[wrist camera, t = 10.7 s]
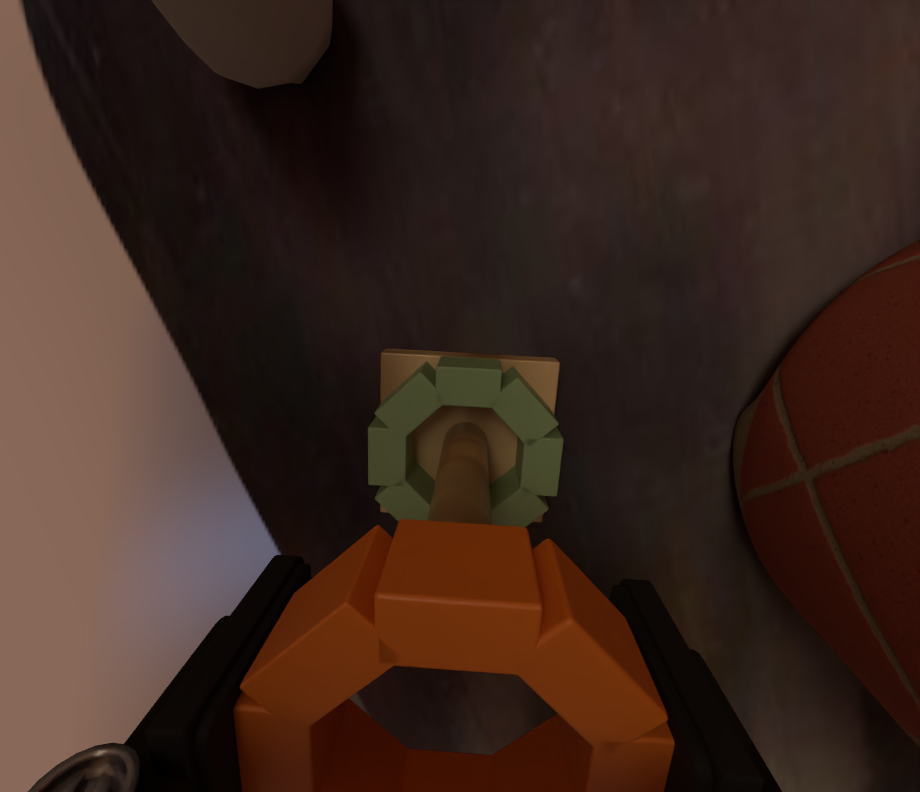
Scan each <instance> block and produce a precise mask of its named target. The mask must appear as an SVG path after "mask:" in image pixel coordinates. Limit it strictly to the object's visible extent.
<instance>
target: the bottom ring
mask: <svg viewBox="0 0 920 792" xmlns="http://www.w3.org/2000/svg"><path fill="white" fill-rule="evenodd" d="M442 405H445V406H463V407H480V408H492V409H493V410H494V411H495V412H496V413H497V415H498V416H499V417H500V418H501V419H502V420H503V421H504V422H505V423H506V424H507V425H508V427H509V428H510V429H511V430H512V431H513V432H514V433H515V434H516V435H517V436H518V438H517V449H516V460H515V466H513V467H512V468H511V469H510V470H508V471H507V472H506V473H505V474H503V475H502V476H501V477H500V478H498V479H497V480H496V481H495V482H493V483H492V484H491V485H489V486H490V501H491V517H492V525H502V526H517V527H526V526H528V525H529V524H530V523H532V522H533V521H534V520H536V519H537V518H538V517H540V516H541V515H542V514H544V513H545V512H546V511H548V509H549V508H548V505H547V502H546V499H545V496H557V492H558V484H559V476H560V467H561V459H562V451H563V442H564V439H563V437H562V436H561V434H560V432H559V430H558V428H557V426H558V425H559V423H558V421H557V419H556V418H555V416H554V414H553V412H552V411H551V409H550V407H549V406H548V405H547V404H546V402H545V401H544V400H543V399H542V398H541V397H540V396H539V395H538V393H537V392H536V391H535V390H534V389H533V388H532V387H531V386H530V384H529V383H528V382H527V381H526V380H525V379H524V378H523V376H522V375H521V374H520V373H519V372H518V371H517V370H516V369H515V367H514V366H512V367H511V368H509V369H508V370H507V371H506V372H505V373H503V374H502V369H501V365H500V361H499V359H487V358H469V357H451V356H441V358H440V360H439V362H438V364H437V367H436V370H435V369H434V368H433V367H432V366H431V365H430V364H429V363H428V361H426V362H425V363H424V364H423V365H421V366H420V367H419V368H418V369H417V370H416V371H415V372H414V373H413V374H411V375H410V376H409V377H408V378H407V379H406V380H405V381H404V382H403V383H401V384H400V385H399V386H398V387H397V388H396V389H395V390H394V391H393V392H392V393H390V394H389V395H388V396H387V397H386V398H385V400H384V401H383V402H382V404H381V405H380V406H379V408H378V409H377V410H376V411H375V415H376V418H375V419H374V420H373V422H372V423H371V424H370V426H369V427H368V484H369V485H380V488H379V490H378V492H377V494H376V496H375V499H376V500H377V501H378V502H379V503H380V504H381V505H382V506H383V507H384V508H385V509H386V510H387V511H388V512H389V513H390V514H391V515H392V516H393V517H394V518H395V519H396V520H397V521H398V522H399V520H401V519H413V520H428V516H429V511H430V506H431V501H432V496H433V491H434V486H435V480H434V479H433V478H432V477H431V476H430V475H429V474H428V473H427V472H426V471H425V470H424V469H423V468H422V467H421V466H420V465H419V464H418V463H417V462H416V461H415V460H414V459H413V453H414V430H415V429H416V428H417V427H418V426H419V425H420V424H421V423H423V422H424V421H425V420H426V419H427V418H428V417H429V416H431V415H432V414H433V413H434V412H435V411H436V410H438V409H439V408H440V407H441V406H442Z"/></svg>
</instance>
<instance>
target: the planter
mask: <svg viewBox="0 0 920 792" xmlns="http://www.w3.org/2000/svg"><path fill="white" fill-rule="evenodd" d="M733 469H734V478H735V485H736V490H737V496H738V500H739V504H740V508H741V512H742V515H743V519H744V522H745V525H746V528H747V531H748V534H749V536H750V539H751V541H752V544H753V546H754V548H755V550H756V552H757V554H758V556H759V558H760V560H761V562H762V564H763V565H764V567H765V568H766V570H767V572H768V573H769V575H770V577H771V578H772V580H773V581H774V582H775V583H776V585H777V586H778V587H779V589H780V590H781V591H782V593H783V594H784V595H785V596H786V598H787V599H788V600H789V601H790V603H791V604H792V605H793V606H794V607H795V608H796V609H797V610H798V611H799V613H800V614H801V615H802V616H803V617H804V618H805V619H806V620H807V621H808V623H809V624H810V625H811V626H812V627H813V628H814V629H815V630H816V632H817V633H818V634H819V635H820V636H821V637H822V638H823V639H824V640H825V642H826V643H827V644H828V645H829V646H830V647H831V648H832V649H833V650H834V652H835V653H836V654H837V655H838V656H839V657H840V658H841V659H842V661H843V662H844V663H845V664H846V665H847V666H848V667H849V668H850V670H851V671H852V672H853V673H854V674H855V675H856V676H857V678H858V679H859V680H860V681H861V682H862V683H863V684H864V686H865V687H866V688H867V689H868V690H869V691H870V692H871V694H872V695H873V696H874V697H875V698H876V699H877V700H878V701H879V703H880V704H881V705H882V706H883V707H884V708H885V709H886V711H887V712H888V713H889V714H890V715H891V716H892V717H893V719H894V720H895V721H896V722H897V723H898V724H899V725H900V727H901V728H902V729H903V730H904V731H905V732H906V733H907V734H908V736H909V737H910V738H911V739H912V740H913V741H914V742H915V744H916V745H917V746H918V747H919V748H920V240H918V241H917V242H915V243H913V244H911V245H909V246H907V247H905V248H903V249H902V250H900V251H898V252H897V253H895V254H893V255H892V256H890V257H889V258H887V259H885V260H884V261H882V262H881V263H879V264H878V265H877V266H875V267H874V268H872V269H871V270H869V271H868V272H866V273H865V274H864V275H863V276H861V277H860V278H859V279H857V280H856V281H855V282H854V283H852V284H851V285H850V286H849V287H847V288H846V289H845V290H844V291H843V292H842V293H841V294H840V295H838V296H837V297H836V298H835V299H834V300H833V301H832V302H831V303H830V304H829V305H828V306H827V307H826V308H825V309H824V310H823V311H822V312H821V313H820V314H819V315H818V316H817V317H816V318H815V319H814V320H813V321H812V322H811V324H810V325H809V326H808V327H807V328H806V329H805V331H804V332H803V333H802V334H801V335H800V336H799V338H798V339H797V341H796V342H795V343H794V345H793V346H792V347H791V349H790V350H789V351H788V353H787V354H786V356H785V357H784V359H783V360H782V362H781V363H780V364H779V366H778V367H777V369H776V370H775V372H774V374H773V375H772V377H771V378H770V380H769V381H768V383H767V385H766V386H765V388H764V389H763V390H762V392H761V393H760V395H759V396H758V397H757V398H756V399H755V400H754V401H753V402H752V403H751V404H750V405H749V406H748V407H747V408H746V409H745V410H744V411H743V412H742V413H741V415H740V417H739V418H738V421H737V424H736V427H735V433H734V442H733Z"/></svg>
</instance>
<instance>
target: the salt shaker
mask: <svg viewBox="0 0 920 792" xmlns="http://www.w3.org/2000/svg"><path fill="white" fill-rule="evenodd" d="M151 1H152V2H153V3H154V4H155V6H156V7H157V8H158V9H159V11H160V12H161V13H162V14H163V16H164V17H165V18H166V20H167V21H168V22H169V23H170V25H171V26H172V27H173V28H174V30H175V31H176V32H177V34H178V35H179V36H180V37H181V39H182V40H183V41H184V42H185V44H186V45H187V46H188V47H189V48H190V49H191V50H192V51H193V52H195V53H196V54H197V55H198V56H199V57H200V58H201V59H202V60H203V61H204V62H205V63H206V64H207V65H208V66H209V67H210V68H211V69H212V70H213V71H214V72H215V73H217V74H219V75H221V76H223V77H225V78H228V79H231V80H234V81H237V82H240V83H243V84H245V85H248V86H251V87H254V88H257V89H259V88H264V87H270V86H276V85H281V84H287V83H297V84H302V83H303V82H304V80H305V79H306V77H307V76H308V75H309V73H310V72H311V71H312V69H313V68H314V66H315V65H316V64H317V62H318V61H319V60H320V58H321V57H322V55H323V54H324V53H325V51H326V50H327V48H328V47H329V46H330V39H331V31H332V10H333V0H151Z"/></svg>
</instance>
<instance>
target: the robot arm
mask: <svg viewBox="0 0 920 792" xmlns="http://www.w3.org/2000/svg"><path fill="white" fill-rule="evenodd" d="M310 580H311V566H310V565H309V564H304V560H303V558H302V557H300V556H285V555H276V556H274V558H272V560H271V561H270V562H269V564H268V565H267V567H266V568H265V570H264V571H263V572H262V573H261V575H260V576H259V577H258V579H257V580H256V581H255V583H254V584H253V586H252V587H251V588H250V590H249V591H248V592H247V594H246V595H245V596H244V598H243V599H242V601H241V602H240V603H239V604H238V606H237V607H236V609H235V610H234V611H233V613H232V614H231V615H230V616H225V617H223V618H221V619H220V620H219V621H218V622H217V623H216V624H215V626H214V627H213V628H212V629H211V631H210V632H209V633H208V635H207V636H206V637H205V639H204V640H203V641H202V642H201V644H200V645H199V646H198V648H197V649H196V650H195V652H194V653H193V654H192V655H191V657H190V658H189V659H188V661H187V662H186V663H185V665H184V666H183V667H182V669H181V670H180V671H179V672H178V674H177V675H176V676H175V678H174V679H173V680H172V682H171V683H170V685H169V686H168V687H167V688H166V690H165V691H164V692H163V694H162V695H161V696H160V697H159V699H158V700H157V701H156V703H155V704H154V705H153V707H152V708H151V709H150V711H149V712H148V713H147V714H146V716H145V717H144V718H143V720H142V721H141V722H140V724H139V725H138V726H137V728H136V729H135V730H134V731H133V733H132V734H131V735H130V737H129V738H128V740H127V741H126V742H125V743H124V744H117V743H108V744H103V745H97V746H94V747H91V748H89V749H86V750H84V751H81V752H79V753H76V754H75V755H73V756H71V757H70V758H68V759H66V760H65V761H63V762H61V763H60V764H58V765H57V766H56V767H54V768H53V769H52V770H50V771H49V772H48V773H47V774H46V775H44V776H43V777H42V778H41V779H39V780H38V781H37V782H36V783H35V785H34V786H33V787H32V788H31V789H30V790H29V791H28V792H242V787H241V778H240V768H239V759H238V750H237V741H236V732H235V722H234V713H233V710H234V706H235V703H236V702H237V700H238V698H239V696H240V695H241V693H242V690H241V689H240V685H241V683H242V681H243V679H244V678H245V676H246V674H247V672H248V671H249V669H250V667H251V666H252V664H253V662H254V660H255V659H256V657H257V655H258V654H259V652H260V650H261V649H262V647H263V645H264V643H265V642H266V640H267V638H268V637H269V635H270V633H271V632H272V630H273V628H274V626H275V625H276V623H277V621H278V620H279V618H280V616H281V615H282V613H283V611H284V609H285V608H286V606H287V604H288V603H289V601H290V599H291V598H292V596H293V594H294V593H295V592H296V591H298V590H299V589H300V588H301V587H302V586H304V585H305V584H306V583H307V582H308V581H310ZM610 602H611V603H612V604H613V605H614V606H615V607H616V608H617V609H618V610H619V612H620V613H621V614H622V615H623V616H624V617H625V618H626V620H627V623H628V625H629V627H630V629H631V632H632V634H633V636H634V639H635V641H636V643H637V645H638V648H639V650H640V652H641V655H642V657H643V659H644V662H645V664H646V666H647V668H648V671H649V673H650V675H651V678H652V680H653V682H654V684H655V687H656V689H657V691H658V694H659V696H660V698H661V701H662V703H663V705H664V707H665V710H666V712H667V715H668V720H667V725H668V727H669V729H670V732H671V734H672V736H673V739H674V750H673V755H672V759H671V763H670V767H669V772H668V776H667V780H666V784H665V788H664V792H782V791H781V789H780V788H779V786H778V784H777V782H776V781H775V779H774V777H773V776H772V774H771V772H770V771H769V769H768V767H767V766H766V764H765V762H764V761H763V759H762V757H761V756H760V754H759V752H758V750H757V749H756V747H755V745H754V744H753V742H752V740H751V739H750V737H749V735H748V734H747V732H746V730H745V729H744V727H743V725H742V724H741V722H740V720H739V718H738V717H737V715H736V713H735V712H734V710H733V708H732V707H731V705H730V703H729V702H728V700H727V698H726V697H725V695H724V693H723V691H722V690H721V688H720V686H719V685H718V683H717V681H716V680H715V678H714V676H713V675H712V673H711V671H710V670H709V668H708V666H707V665H706V663H705V661H704V660H703V658H702V657H701V656H700V654H699V653H698V652H696V651H695V650H689V648H688V646H687V644H686V643H685V641H684V639H683V637H682V636H681V634H680V632H679V630H678V629H677V627H676V625H675V623H674V622H673V620H672V618H671V616H670V615H669V613H668V611H667V609H666V608H665V606H664V604H663V602H662V601H661V599H660V597H659V595H658V594H657V592H656V590H655V588H654V587H653V585H652V584H651V582H649V581H646V580H632V579H622V580H621V582H620V585H619V586H618V585H614V586H613V587H612V590H611V596H610Z"/></svg>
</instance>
